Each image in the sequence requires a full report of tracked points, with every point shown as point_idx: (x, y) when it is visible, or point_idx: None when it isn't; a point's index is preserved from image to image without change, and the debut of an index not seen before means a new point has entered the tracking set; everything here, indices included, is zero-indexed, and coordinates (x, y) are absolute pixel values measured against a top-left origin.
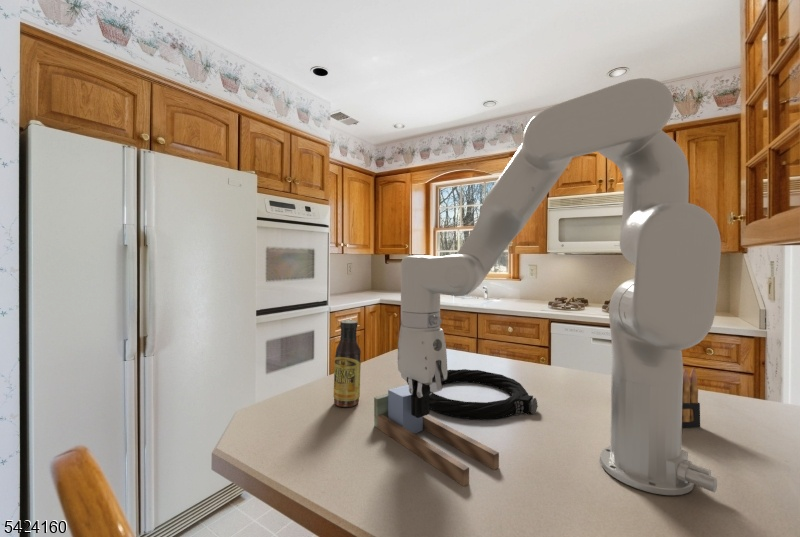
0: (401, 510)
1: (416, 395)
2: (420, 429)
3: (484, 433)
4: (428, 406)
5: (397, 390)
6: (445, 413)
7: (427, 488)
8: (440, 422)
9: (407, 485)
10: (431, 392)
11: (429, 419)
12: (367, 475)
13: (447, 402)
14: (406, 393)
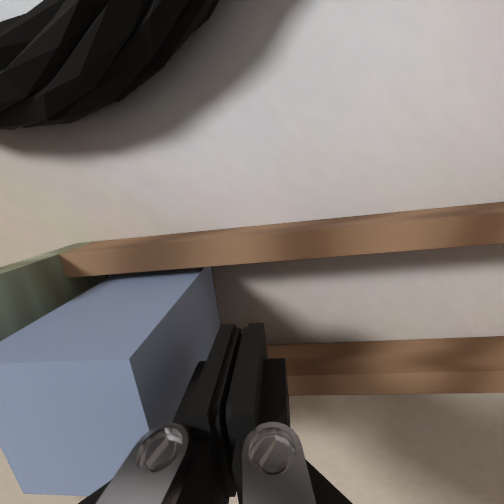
0: (489, 494)
1: (224, 482)
2: (210, 274)
3: (366, 40)
4: (285, 374)
5: (53, 467)
6: (130, 92)
7: (475, 422)
8: (268, 236)
9: (430, 446)
10: (301, 451)
11: (219, 260)
12: (335, 484)
13: (93, 54)
14: (121, 455)
